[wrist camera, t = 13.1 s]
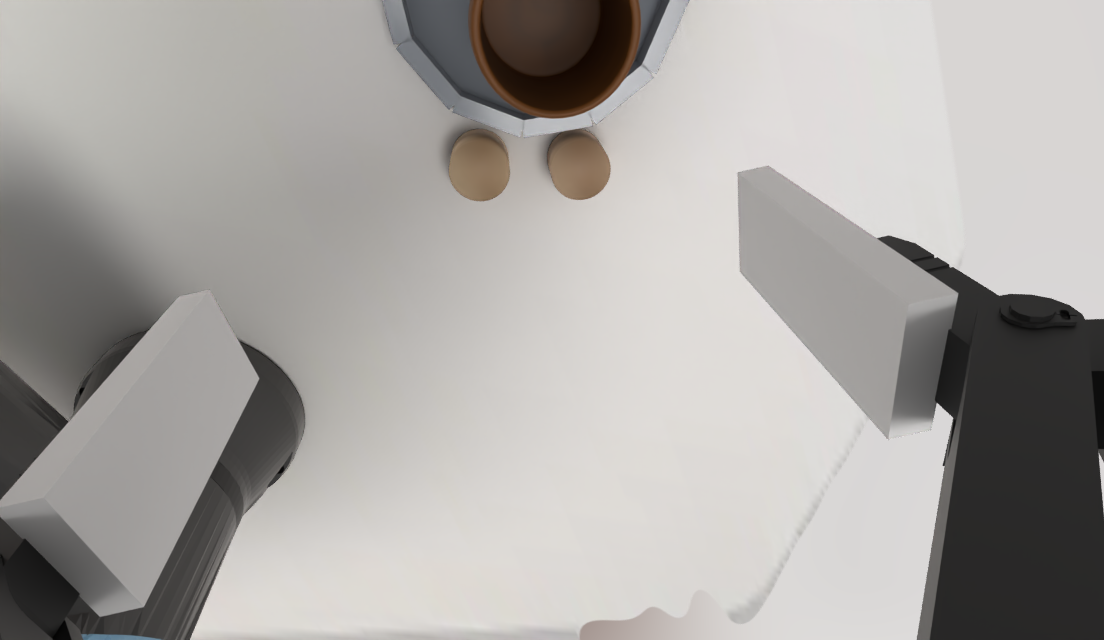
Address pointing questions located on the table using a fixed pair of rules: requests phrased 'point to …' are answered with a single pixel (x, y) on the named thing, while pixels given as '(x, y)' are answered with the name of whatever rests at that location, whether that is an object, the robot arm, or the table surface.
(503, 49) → the mug
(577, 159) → the bead
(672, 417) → the table surface
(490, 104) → the saucer
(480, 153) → the bead
